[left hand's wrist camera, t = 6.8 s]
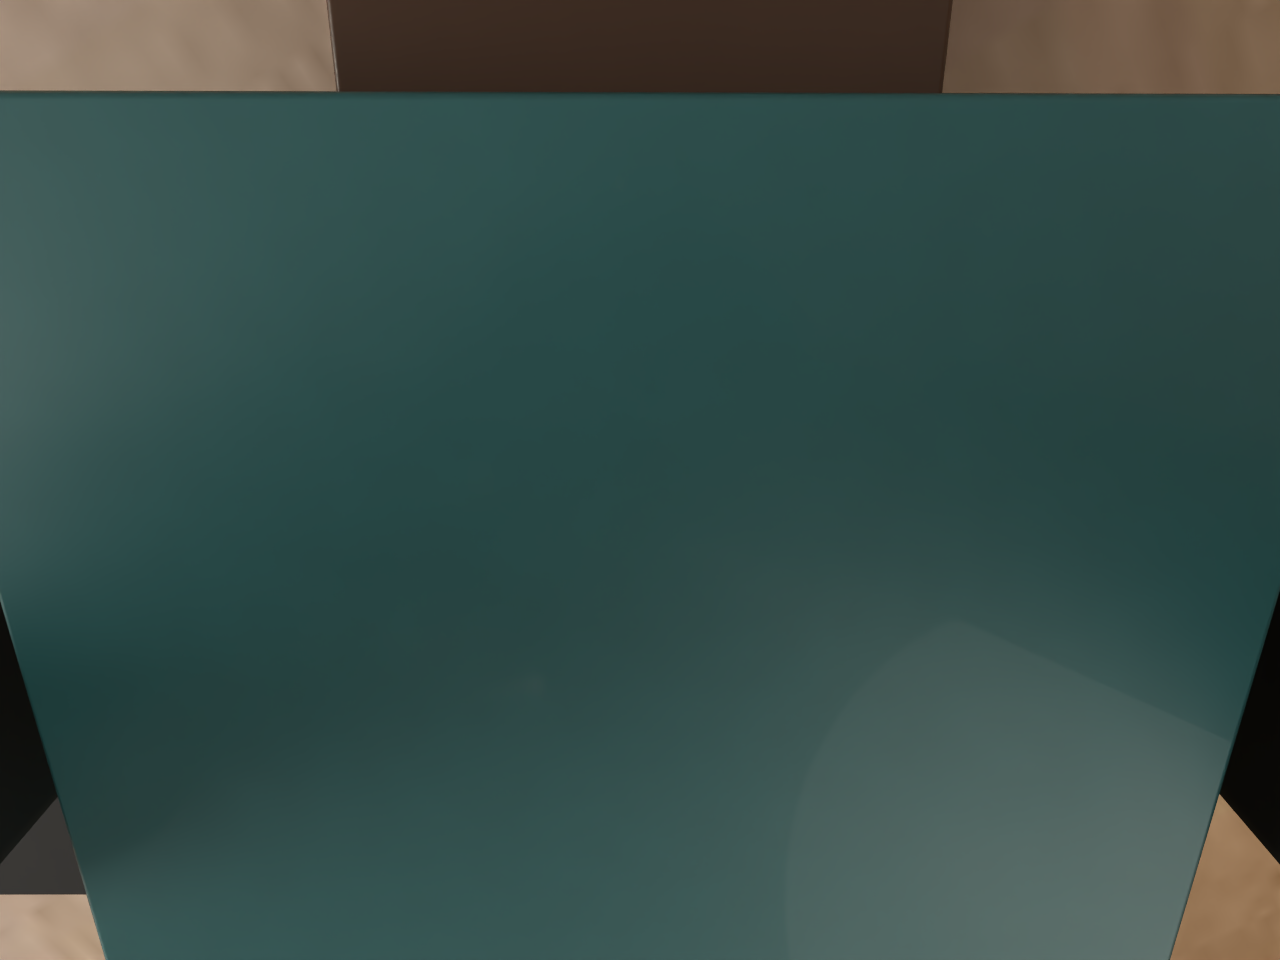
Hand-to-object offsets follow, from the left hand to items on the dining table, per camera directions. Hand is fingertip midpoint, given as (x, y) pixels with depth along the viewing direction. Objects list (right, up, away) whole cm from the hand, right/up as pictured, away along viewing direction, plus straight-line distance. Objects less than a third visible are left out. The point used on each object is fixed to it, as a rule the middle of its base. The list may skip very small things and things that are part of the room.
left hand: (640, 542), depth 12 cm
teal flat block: (0, 0, 0) cm, 0 cm away
